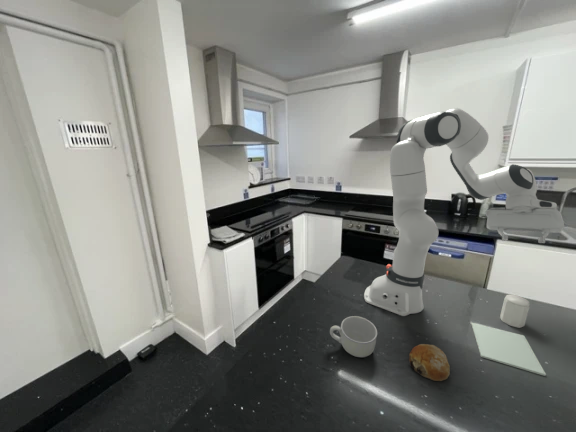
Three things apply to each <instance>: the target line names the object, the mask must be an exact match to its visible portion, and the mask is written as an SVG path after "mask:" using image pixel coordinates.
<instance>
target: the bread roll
mask: <svg viewBox="0 0 576 432" xmlns="http://www.w3.org/2000/svg"><path fill="white" fill-rule="evenodd" d="M408 355H409V358H408V361H409V365H410V367H411V368H412V369H414V372H416V373H418V374H419V375H420V376H422V377H423V378H427V379H429V380H430V381H434V382H442V381H445V380H447V379H448V378H449V376H450V374H451V373H450V372H451V370H450V369H451V368H450V367H451V366H450V363H449V361H448V357H447V355H446V354H445V352H444V351H443V350H442V349H441V348H439V347H438V346H436V345H434V344H427V343H426V344H425V343H420V344H417V345H415V346H414V347H412V348H411V350H410V352H409V354H408Z"/></svg>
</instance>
